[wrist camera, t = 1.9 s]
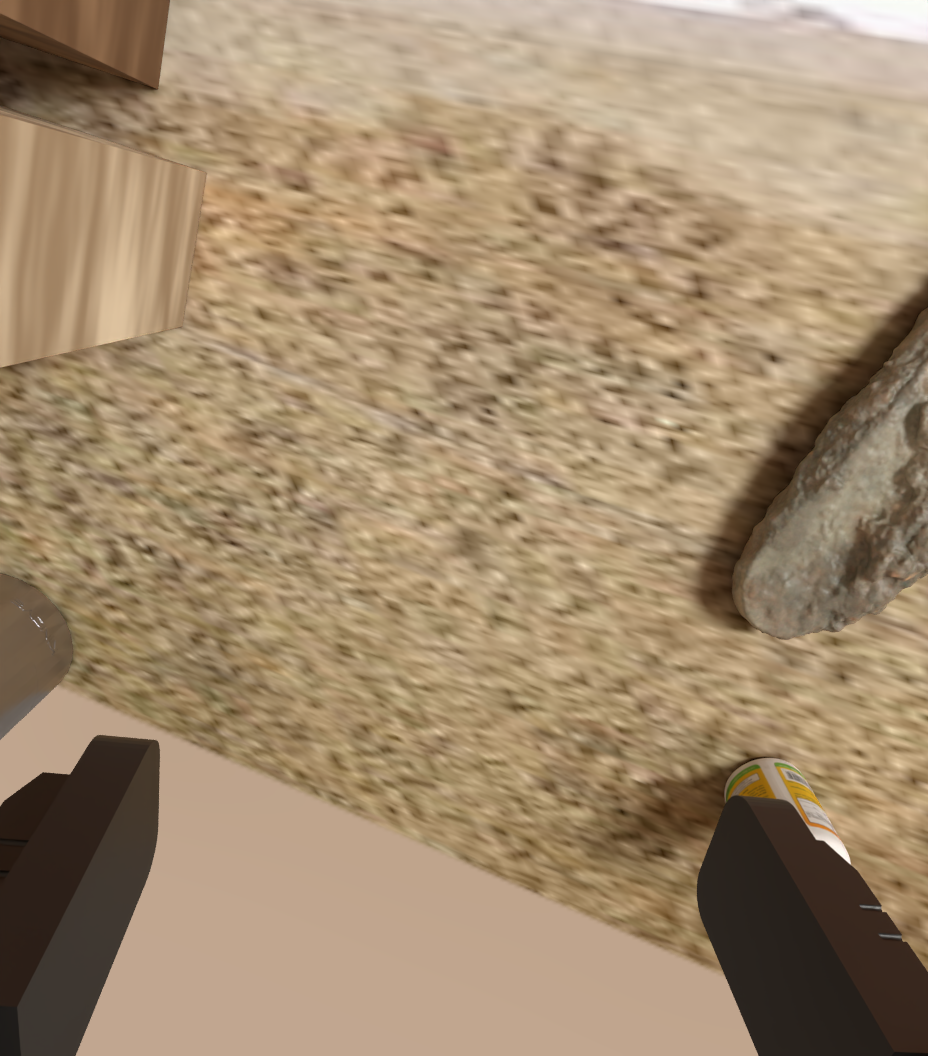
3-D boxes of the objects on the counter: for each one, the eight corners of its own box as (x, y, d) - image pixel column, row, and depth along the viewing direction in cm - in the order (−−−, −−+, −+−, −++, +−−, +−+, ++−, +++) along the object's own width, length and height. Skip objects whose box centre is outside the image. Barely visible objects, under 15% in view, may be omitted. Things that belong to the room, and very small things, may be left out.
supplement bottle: (723, 823, 50) (772, 948, 41) (720, 759, 49) (771, 875, 39) (804, 816, 50) (872, 941, 41) (804, 751, 48) (875, 867, 39)
